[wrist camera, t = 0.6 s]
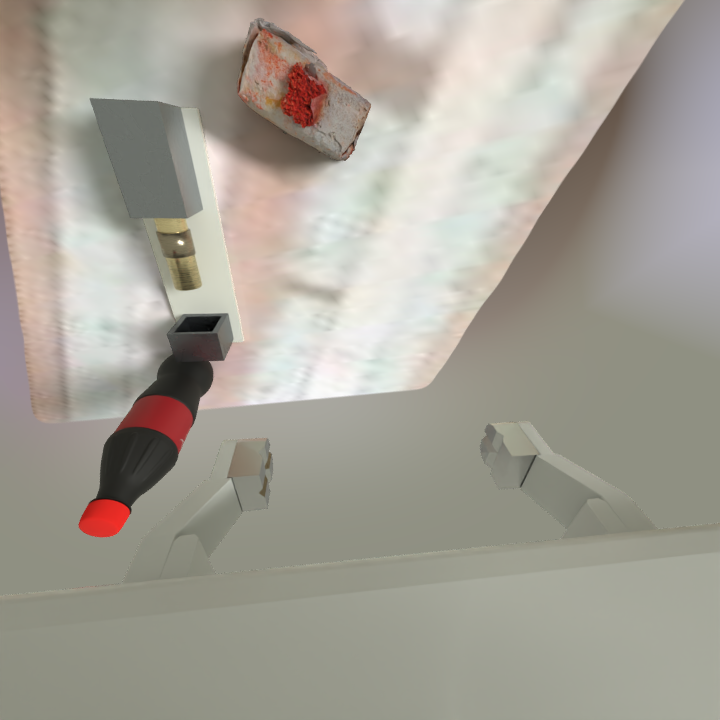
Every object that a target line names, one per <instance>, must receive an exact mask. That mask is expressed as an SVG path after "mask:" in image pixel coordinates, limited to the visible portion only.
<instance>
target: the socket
mask: <svg viewBox="0 0 720 720" xmlns="http://www.w3.org/2000/svg"><path fill="white" fill-rule="evenodd" d="M167 336H168V339H169V342H170V345H171V348H172V351H173V354H174V357H175V359H176V362H193V361H224V360H225V357H226V355H227V353H228V351H229V348H230V346H231V344H232V342H233V339H234V338H233V333H232V328H231V324H230V319H229V315H228V313H214V314H183V315H182V316H181V317H180V319H179V320H178V321H177V322H176V324H175V325H174V326H173V327H172V329H171V330H170V331H169V332H168V333H167Z"/></svg>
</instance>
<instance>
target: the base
mask: <svg viewBox="0 0 720 720" xmlns="http://www.w3.org/2000/svg"><path fill="white" fill-rule="evenodd" d="M181 111H182V115H183V120H184V124H185V129H186V134H187V138H188V143H189V147H190V152H191V156H192V161H193V165H194V170H195V174H196V179H197V183H198V188H199V192H200V197H201V201H202V206H203V210H202V211H200V212H198V213H196V214H195V215H193V216H191V217H189V218H187V219H186V222H187V226H188V228H189V229H190V231H191V235H192V239H193V243H194V247H195V251H196V254H195V257H196V261H197V265H198V269H199V273H200V277H201V281H202V286H201V287H200V288H197V289H194V290H188V291H180V290H176V289H175V288H174V284H173V281H172V278H171V274H170V271H169V268H168V265H167V261H166V258H165V257H164V256H163V254H162V251H161V247H160V244H159V241H158V238H157V234H156V231H157V228H156V225H155V222H154V219H153V218H143V221H144V225H145V228H146V231H147V234H148V237H149V240H150V243H151V246H152V249H153V253H154V256H155V259H156V262H157V265H158V268H159V271H160V274H161V277H162V280H163V284H164V287H165V290H166V293H167V296H168V299H169V302H170V305H171V308H172V312H173V315H174V318H175V321H176V322H177V321H178V320H179V319H180V317H181V316H182V315H183V314H214V313H228V315H229V319H230V324H231V328H232V333H233V338H234V339H233V342H244V335H243V330H242V325H241V320H240V315H239V310H238V305H237V300H236V295H235V290H234V284H233V279H232V274H231V269H230V264H229V259H228V254H227V249H226V244H225V239H224V234H223V229H222V224H221V219H220V213H219V208H218V203H217V198H216V193H215V188H214V183H213V178H212V173H211V168H210V163H209V158H208V153H207V147H206V142H205V137H204V132H203V127H202V122H201V117H200V112H199V109H198V108H183V107H181Z"/></svg>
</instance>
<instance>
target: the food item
mask: <svg viewBox="0 0 720 720" xmlns="http://www.w3.org/2000/svg"><path fill="white" fill-rule="evenodd" d="M312 52H314V53H316V52H315V51H314V50H313V49H311V48H310V47H308V46H306V45H305V44H304V43H302V42H301V41H300V40H299V39H297V38H296V37H294V36H292V35H291V34H290V33H289V32H287V31H284V30H282V29H281V28H279V27H277V26H276V25H275V24H274V23H270V22H265V21H264V19H262V18H257V19H255V21H254V22H251V24H250V28H249V31H248V36H247V38H246V41H245V45H244V49H243V55H242V67H241V69H240V73H239V77H238V81H237V91H238V95H239V96H240V98H241V99H242V100H243V101H244V102H245V103H246V104H247V106H248V107H250V108H251V109H252V110H253V111H255V112H256V113H258V114H259V115H261V116H262V117H264V118H265V119H267V120H268V121H270V122H271V123H272V124H274V125H276V126H277V127H279V128H280V129H282V130H284V133H285V134H286V133H288V134H290V135H291V136H293V137H295V138H298V139H300V140H302V141H303V142H305V143H307V144H308V145H310V146H312V147H314V148H315V149H317V150H319V151H320V152H322V153H323V154H325V155H327V156H329V157H330V158H331V159H335V160H339V161H341V160H344V161H346V160H347V159H348V158H349V157H350V156H349V155H350V154H352V151H354V150H355V146H356V143H357V140H358V137H359V135H360V133H361V131H362V128H363V126H364V123H365V120H366V118H367V115H368V113H369V110H370V108H371V104H370V103H369V102H368V101H367V100H366V99H364V98H363V97H361V96H360V95H359V94H358V93H357V92H355V91H353V90H352V89H351V87H349V86H347V85H346V84H345V83H343V82H342V81H341V80H340V79H338V78H336V77H335V76H333V75H332V74H331V73H328V72H327V68H326V65H325V64H324V63H323V62H322V61H321V60H320V59H319V58H318V57H317V56H315V55H314V54H313V53H312ZM316 54H317V53H316ZM320 152H319V153H320Z"/></svg>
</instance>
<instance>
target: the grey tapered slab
mask: <svg viewBox="0 0 720 720" xmlns="http://www.w3.org/2000/svg"><path fill="white" fill-rule="evenodd" d="M90 101H91V104H92V107H93V110H94V113H95V115H96V118H97V121H98V124H99V127H100V130H101V133H102V136H103V139H104V142H105V145H106V148H107V151H108V154H109V157H110V159H111V162H112V165H113V168H114V171H115V174H116V177H117V180H118V183H119V186H120V189H121V192H122V195H123V198H124V201H125V203H126V206H127V209H128V212H129V215H130V218H181V219H187V218H189V217H191V216H193V215H195V214H196V213H198V212H200V211H202V210H203V206H202V201H201V197H200V192H199V188H198V183H197V179H196V174H195V170H194V165H193V161H192V156H191V152H190V147H189V143H188V138H187V134H186V129H185V124H184V120H183V115H182V111H181V107H177V106H173V105H170V104H166V103H162V102H158V101H137V100H115V99H93V98H90Z"/></svg>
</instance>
